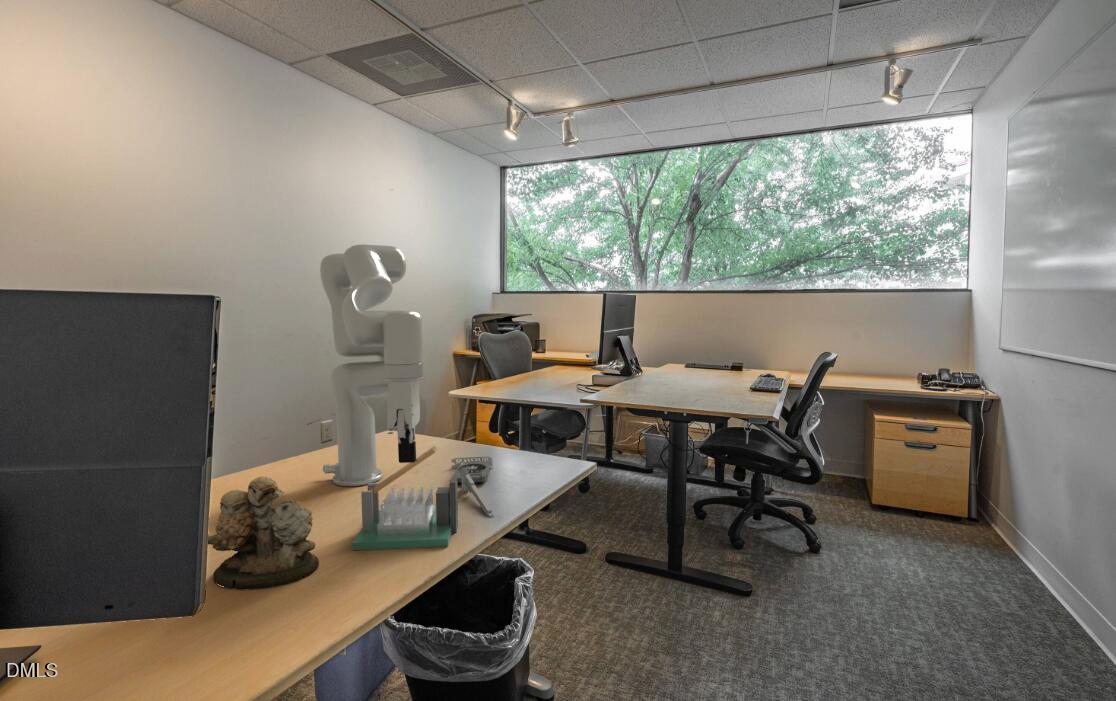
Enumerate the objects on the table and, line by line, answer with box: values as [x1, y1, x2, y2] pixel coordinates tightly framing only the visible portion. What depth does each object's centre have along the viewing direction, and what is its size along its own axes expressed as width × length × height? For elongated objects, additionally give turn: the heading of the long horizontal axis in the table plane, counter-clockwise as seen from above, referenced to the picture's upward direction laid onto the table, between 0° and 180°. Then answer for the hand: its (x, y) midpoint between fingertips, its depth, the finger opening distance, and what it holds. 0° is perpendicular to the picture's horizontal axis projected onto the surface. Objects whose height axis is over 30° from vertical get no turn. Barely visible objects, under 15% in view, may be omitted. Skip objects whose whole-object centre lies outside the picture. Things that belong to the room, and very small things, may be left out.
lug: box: [435, 476, 459, 534], centre depth 110 cm, size 4×4×10 cm
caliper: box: [461, 467, 495, 518], centre depth 126 cm, size 20×1×6 cm, turn 28°
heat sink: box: [377, 486, 436, 535], centre depth 110 cm, size 10×10×6 cm
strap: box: [369, 445, 438, 495], centre depth 109 cm, size 17×3×1 cm
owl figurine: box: [207, 476, 320, 590], centre depth 92 cm, size 18×12×17 cm, turn 99°
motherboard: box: [351, 482, 452, 551], centre depth 109 cm, size 18×16×10 cm
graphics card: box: [451, 456, 494, 483], centre depth 145 cm, size 17×4×12 cm
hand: (407, 461), depth 108 cm, fingers closed
